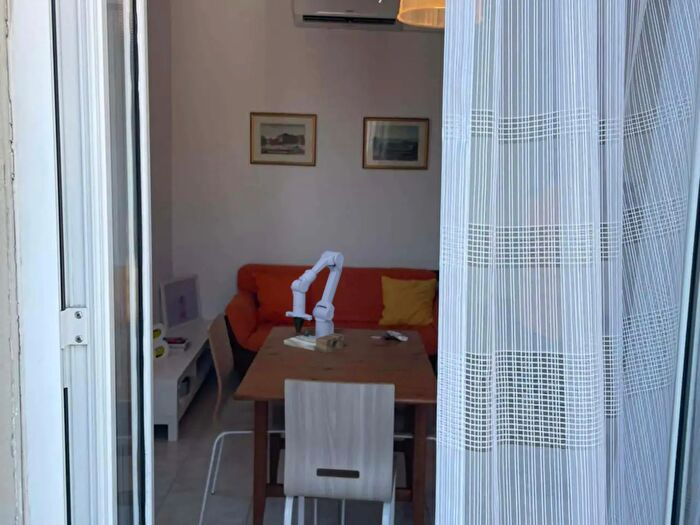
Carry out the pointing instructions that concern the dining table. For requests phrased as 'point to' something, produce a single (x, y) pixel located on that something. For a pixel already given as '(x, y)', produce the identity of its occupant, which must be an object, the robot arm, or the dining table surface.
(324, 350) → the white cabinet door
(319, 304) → the robot arm
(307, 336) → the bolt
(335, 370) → the dining table surface
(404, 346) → the dining table surface
